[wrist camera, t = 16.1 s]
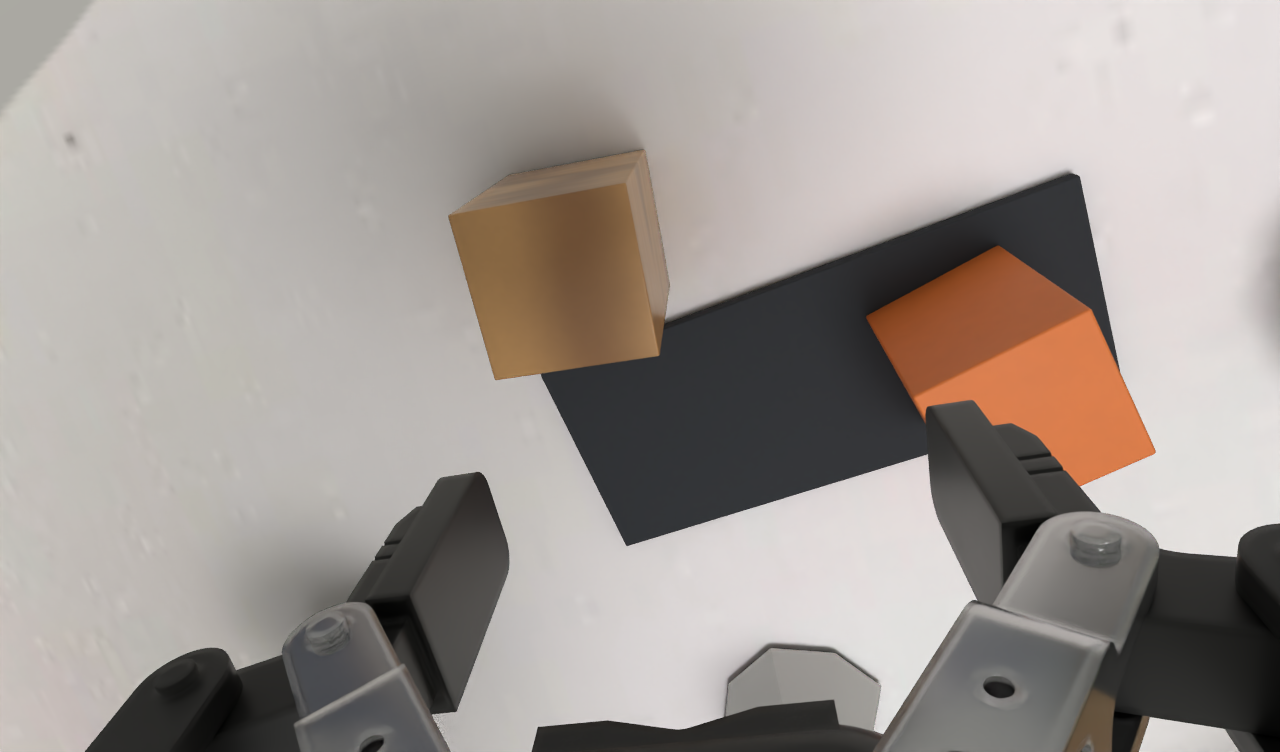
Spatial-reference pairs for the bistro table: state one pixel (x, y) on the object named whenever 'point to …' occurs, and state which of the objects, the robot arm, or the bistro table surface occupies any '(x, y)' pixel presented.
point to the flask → (806, 685)
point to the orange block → (1016, 361)
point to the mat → (795, 373)
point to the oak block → (566, 266)
